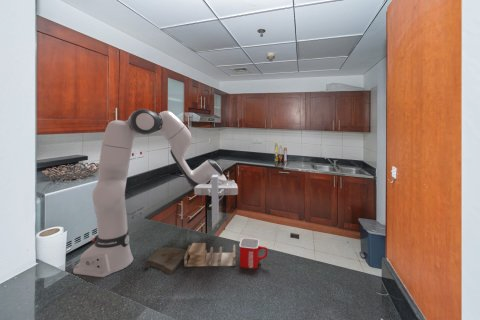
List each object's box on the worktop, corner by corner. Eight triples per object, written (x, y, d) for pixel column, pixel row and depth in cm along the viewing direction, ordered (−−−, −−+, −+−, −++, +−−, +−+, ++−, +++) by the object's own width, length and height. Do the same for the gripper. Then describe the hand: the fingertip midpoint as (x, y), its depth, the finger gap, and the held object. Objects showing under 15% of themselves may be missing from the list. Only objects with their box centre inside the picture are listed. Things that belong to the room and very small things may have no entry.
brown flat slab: (172, 279, 83) (172, 269, 83) (139, 274, 86) (139, 265, 85) (190, 255, 99) (189, 247, 99) (162, 252, 102) (161, 244, 102)
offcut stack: (188, 265, 89) (187, 252, 88) (192, 254, 97) (191, 242, 97) (205, 265, 89) (204, 252, 89) (207, 254, 98) (207, 242, 97)
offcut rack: (184, 269, 89) (184, 257, 88) (189, 256, 99) (189, 245, 98) (235, 268, 89) (235, 257, 89) (235, 255, 99) (235, 244, 99)
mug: (238, 270, 89) (238, 246, 87) (241, 258, 97) (241, 237, 95) (266, 273, 86) (267, 249, 85) (267, 261, 95) (267, 239, 93)
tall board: (211, 222, 89) (211, 177, 87) (213, 217, 95) (212, 174, 92) (217, 222, 89) (217, 177, 87) (218, 217, 95) (218, 174, 92)
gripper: (196, 180, 103) (190, 187, 89) (237, 180, 103) (238, 187, 90) (196, 192, 103) (191, 201, 90) (237, 192, 104) (238, 201, 90)
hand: (215, 194), depth 90 cm, fingers closed on tall board, 2 cm apart
